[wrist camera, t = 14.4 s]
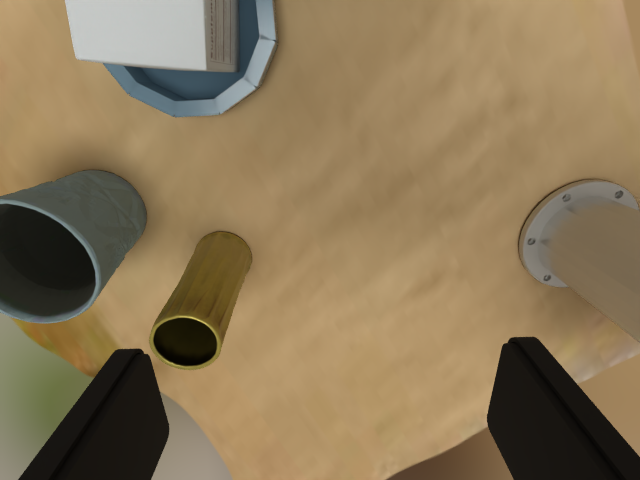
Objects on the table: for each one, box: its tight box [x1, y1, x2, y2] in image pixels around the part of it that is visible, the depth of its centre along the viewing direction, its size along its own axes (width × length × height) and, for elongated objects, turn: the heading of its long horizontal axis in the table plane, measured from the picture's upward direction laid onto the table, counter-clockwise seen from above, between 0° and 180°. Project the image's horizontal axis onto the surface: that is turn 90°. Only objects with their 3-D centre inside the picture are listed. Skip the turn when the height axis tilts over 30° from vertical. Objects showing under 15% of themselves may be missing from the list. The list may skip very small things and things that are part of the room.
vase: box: [149, 232, 252, 370], centre depth 33 cm, size 6×6×14 cm
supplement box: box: [65, 0, 240, 72], centre depth 24 cm, size 7×7×13 cm
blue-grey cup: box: [0, 170, 147, 323], centre depth 32 cm, size 10×10×12 cm
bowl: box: [103, 0, 278, 117], centre depth 29 cm, size 14×14×4 cm
